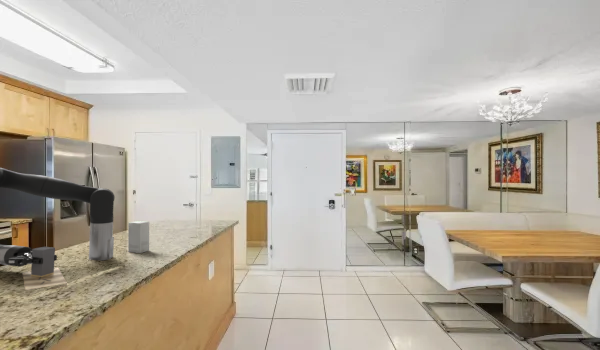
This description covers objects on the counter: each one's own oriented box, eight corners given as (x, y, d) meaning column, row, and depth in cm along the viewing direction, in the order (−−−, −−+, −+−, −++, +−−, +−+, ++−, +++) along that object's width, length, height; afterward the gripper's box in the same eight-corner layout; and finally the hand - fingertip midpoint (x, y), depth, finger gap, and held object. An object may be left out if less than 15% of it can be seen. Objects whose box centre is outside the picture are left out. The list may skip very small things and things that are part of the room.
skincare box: (149, 250, 162) (150, 221, 162) (139, 253, 156) (140, 223, 156) (137, 249, 165) (138, 220, 165) (126, 251, 158) (128, 222, 159)
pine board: (22, 275, 118) (22, 272, 118) (58, 270, 125) (58, 267, 125) (25, 293, 100) (25, 290, 100) (66, 286, 108) (66, 282, 108)
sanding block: (31, 275, 113) (32, 249, 114) (43, 272, 118) (44, 246, 118) (41, 277, 112) (42, 250, 113) (53, 273, 117) (55, 247, 117)
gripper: (-8, 249, 111) (29, 254, 108) (34, 242, 125) (67, 245, 122) (-9, 270, 111) (28, 275, 108) (33, 260, 125) (67, 264, 122)
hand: (49, 259), depth 115 cm, fingers closed on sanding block, 4 cm apart
